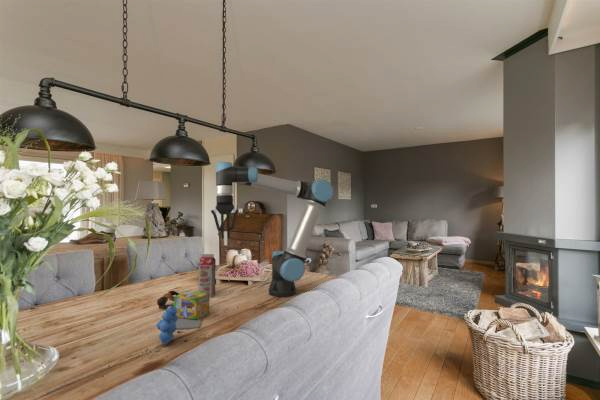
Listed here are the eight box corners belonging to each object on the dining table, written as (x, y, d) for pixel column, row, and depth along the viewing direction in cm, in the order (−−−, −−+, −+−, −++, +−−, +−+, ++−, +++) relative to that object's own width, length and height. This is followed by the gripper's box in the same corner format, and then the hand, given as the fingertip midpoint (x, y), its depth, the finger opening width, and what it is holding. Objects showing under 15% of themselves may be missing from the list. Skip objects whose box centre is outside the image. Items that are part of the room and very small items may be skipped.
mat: (203, 312, 130) (203, 311, 130) (199, 328, 113) (199, 326, 113) (170, 314, 127) (170, 313, 127) (160, 331, 110) (160, 329, 110)
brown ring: (166, 303, 142) (175, 288, 143) (179, 315, 139) (188, 299, 140) (147, 305, 131) (157, 289, 132) (161, 317, 128) (171, 300, 129)
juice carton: (202, 293, 157) (203, 253, 157) (215, 294, 157) (215, 253, 157) (198, 297, 150) (198, 255, 151) (210, 297, 150) (211, 255, 150)
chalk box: (197, 298, 119) (167, 294, 123) (196, 321, 119) (166, 316, 123) (210, 292, 128) (182, 289, 132) (209, 313, 128) (181, 309, 132)
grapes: (162, 334, 107) (163, 301, 108) (181, 334, 108) (182, 301, 108) (148, 350, 96) (148, 313, 96) (169, 349, 96) (169, 313, 96)
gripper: (238, 195, 142) (239, 243, 142) (210, 195, 139) (211, 244, 139) (239, 194, 135) (240, 245, 135) (209, 194, 131) (210, 247, 131)
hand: (225, 244), depth 137 cm, fingers closed
